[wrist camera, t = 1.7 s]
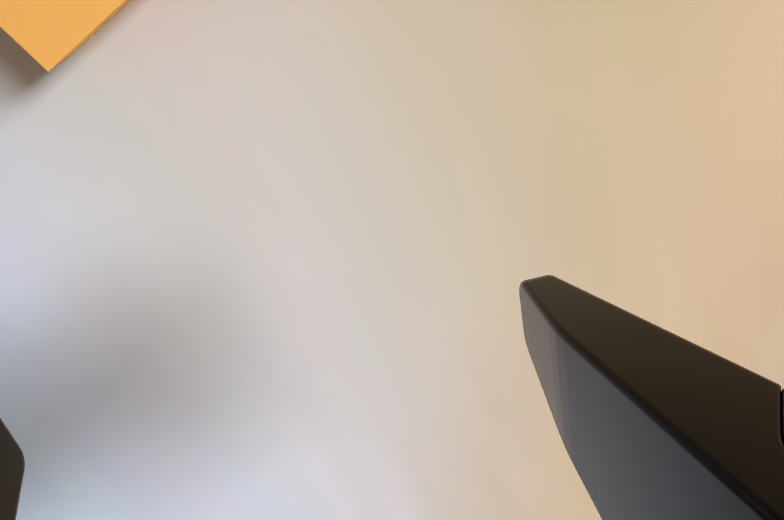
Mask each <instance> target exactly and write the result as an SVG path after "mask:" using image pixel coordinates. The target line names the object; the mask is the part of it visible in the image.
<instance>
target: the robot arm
mask: <svg viewBox="0 0 784 520" xmlns="http://www.w3.org/2000/svg"><path fill="white" fill-rule="evenodd" d="M519 293H520V302H521V311H522V319H523V328H524V335H525V340H526V344H527V347H528V350H529V353H530V356H531V359H532V361H533V364H534V367H535V369H536V372H537V375H538V377H539V380H540V383H541V385H542V388H543V391H544V393H545V396H546V399H547V401H548V404H549V407H550V410H551V412H552V415H553V418H554V420H555V423H556V426H557V428H558V431H559V433H560V436H561V438H562V441H563V443H564V446H565V448H566V450H567V452H568V454H569V456H570V458H571V460H572V462H573V464H574V466H575V468H576V470H577V472H578V474H579V476H580V478H581V480H582V482H583V484H584V485H585V487H586V489H587V491H588V493H589V495H590V497H591V499H592V501H593V503H594V505H595V506H596V508H597V510H598V512H599V514H600V516H601V518H602V520H784V389H783V390H782V392H781V386H780V385H779V384H777V383H775V382H773V381H771V380H769V379H767V378H765V377H763V376H761V375H758V374H756V373H754V372H752V371H750V370H748V369H746V368H744V367H742V366H740V365H738V364H736V363H733V362H731V361H729V360H727V359H725V358H723V357H721V356H719V355H717V354H715V353H713V352H711V351H709V350H706V349H704V348H702V347H700V346H698V345H696V344H694V343H692V342H690V341H688V340H686V339H684V338H681V337H679V336H677V335H675V334H673V333H671V332H669V331H667V330H665V329H663V328H661V327H659V326H656V325H654V324H652V323H650V322H648V321H646V320H644V319H642V318H640V317H638V316H636V315H634V314H632V313H629V312H627V311H625V310H623V309H621V308H619V307H617V306H615V305H613V304H611V303H609V302H607V301H604V300H602V299H600V298H598V297H596V296H594V295H592V294H590V293H588V292H586V291H584V290H582V289H580V288H577V287H575V286H573V285H571V284H569V283H567V282H565V281H563V280H561V279H559V278H557V277H554V276H551V275H546V276H542V277H537V278H533V279H529V280H525V281H523V282H522V283H521V284H520V287H519ZM24 467H25V465H24V456H23V453H22V451H21V449H20V447H19V445H18V444H17V442H16V441H15V440H14V438H13V437H12V435H11V434H10V432H9V431H8V429H7V428H6V426H5V425H4V423H3V422H2V420H1V419H0V520H16V514H17V508H18V503H19V497H20V491H21V486H22V480H23V474H24Z"/></svg>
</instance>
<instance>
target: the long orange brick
mask: <svg viewBox="0 0 784 520" xmlns="http://www.w3.org/2000/svg"><path fill="white" fill-rule="evenodd" d="M129 1H130V0H0V27H1V28H2V29H3V30H4V31H5V32H6V33H7V34H8V35H10V36H11V37H12V38H13V39H14V40H15V41H16V42H17V43H18V44H19V45H20V46H21V47H22V48H23V49H24V50H25V51H27V52H28V53H29V54H30V55H31V56H32V57H33V58H34V59H35V60H36V61H37V62H38V63H39V64H40V65H41V66H42V67H44V68H45V69H46V70H47V71H48V72H49V71H50V70H51V69H53V68H54V67H55V66H57V65H58V64H59V63H61V62H62V61H63V60H64V59H66V58H67V57H68V56H70V55H71V54H72V53H74V52H75V51H76V50H77V49H78V48H80V47H81V46H82V45H83V44H84V43H85V42H86V41H87V40H88V39H89V38H90V37H91V36H92V35H94V34H95V33H96V32H97V31H98V30H99V29H100V28H101V27H102V26H103V25H104V24H105V23H106V22H108V21H109V20H110V19H111V18H112V17H113V16H114V15H115V14H116V13H117V12H118V11H119V10H120V9H121V8H123V7H124V6H125V5H126V4H127V3H128V2H129Z"/></svg>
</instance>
